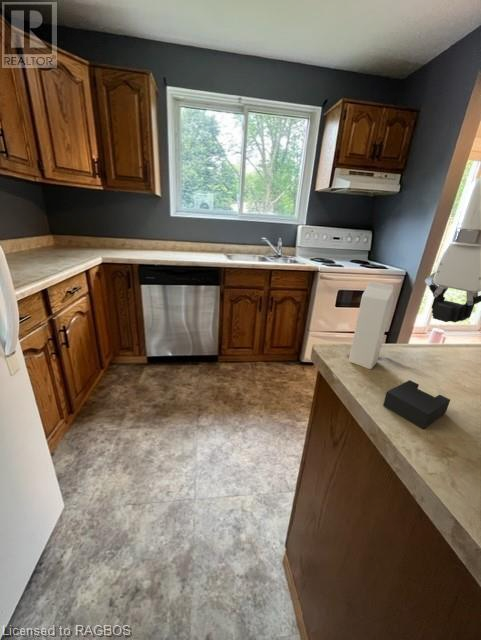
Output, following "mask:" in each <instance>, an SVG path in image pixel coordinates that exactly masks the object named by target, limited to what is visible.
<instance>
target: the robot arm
mask: <svg viewBox="0 0 481 640" xmlns="http://www.w3.org/2000/svg"><path fill="white" fill-rule="evenodd" d="M423 282H424V283H425V284H426V286H427V287H429V290H430V291H431V293H432V297H434V298H433V301H432V305H431V309H432V310H431V314H433V311H434V308H435V305H436V303H437V302H442V301H446V297H445V293H446V292H447V291H448V289H454V290H457V291H463V292H466V293H465V294H466V301H465V303H462V304H463V305H462V309H461V312H460V315H459V317H458V320H459V321H458V322H463V321H466V320H468V319H470V317H471V316H472V313H473V310H474V307H475V305H477V304H479V303H481V294H479V293H480V292H481V176H480V177H477V178H476V179H474V180H473V181H472V182H471V183H470V185H469V188H468V190H467V194H466V197H465V200H464V203H463V207H462V209H461V213H460V216H459V220H458V223H457V226H456V229H455V232H454V236H453V239H452V242H451V243H448V245H447V246H446V248H445V249H444V252H443V253H442V255H441V257H440V260H439V262H438V265H437V267H436V270H435V272H433V273H432V274H430V275H429V276H427V277H426V278H425V279H424V281H423Z"/></svg>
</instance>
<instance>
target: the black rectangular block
mask: <svg viewBox="0 0 481 640" xmlns="http://www.w3.org/2000/svg"><path fill="white" fill-rule="evenodd" d="M463 304H464V303H458V302H453V301H449V300H444V301H442V302H437V303H436V305H435V308H434V311H433V313H432V315H431V316H432V319H434V320H438V321H441V322H443V323H444V322H445V323H449V322H452V323H457V322H460V321H459V320H458V317H459V315H460V312H461V309H462V305H463Z"/></svg>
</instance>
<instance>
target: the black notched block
mask: <svg viewBox="0 0 481 640" xmlns="http://www.w3.org/2000/svg"><path fill="white" fill-rule="evenodd" d="M419 385H420V384H419V383H417V382H414V381H413V380H411V379H410V380H406V381H405V382H403V383H400V384H399V385H397V386H394V387H393V388H391V389H389V390H387V391H386V393H385V397H384V400H383V404H382V406H383V407H385V408H386V409H388V410H390V411H392V412H393V413H395V414H397V415H398V416H400V417H401V418H403V419H405V420H406V421H408V422H410V423H411V424H413V425H415V426H417V427H418V428H420V429H422V430H425V429H426V428H428V427H429V426H430V425H432V424H433V423H435V422H436V421H437V420H439V419H441V418H442V417H443V416H444V415H446V413H447V410H448V408H449V406H450V403H451V399H450V398H448V397H446V396H444V395H442V394H438V395H436V396H434V395H431V394H429V393H427V392H425V391H423V390H421V389H419Z"/></svg>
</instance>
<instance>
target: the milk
mask: <svg viewBox="0 0 481 640" xmlns="http://www.w3.org/2000/svg"><path fill="white" fill-rule="evenodd" d="M393 291H394V285H393V284H387V283H382V282H381V283H380V282H375V281H367V286H366V288H365V290H364V291H363V293H362V295H361V299H360V304H359V309H358V314H357V319H356V323H355V327H354V332H353V338H352V342H351V347H350V353H349V357H348V362H349V363H351V364H355V365H357V366H360V367H363V368H365V369H369V370H372V368H374V366H376V364H377V363H378V361H379V357H380V352H381V349H382V346H383V341H384V337H385V332H386V329H387V325H388V321H389V317H390V313H391V309H392V305H393V302H394V301H393V300H394V292H393Z"/></svg>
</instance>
